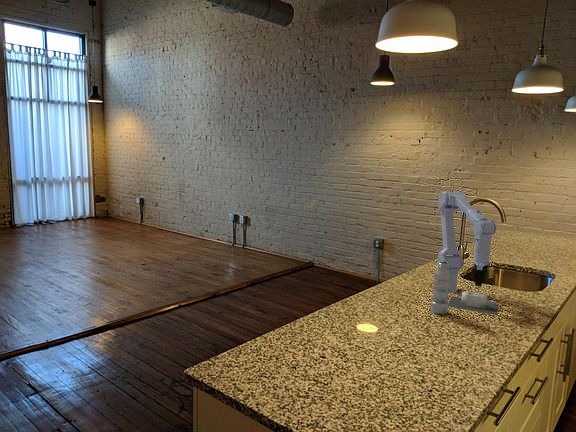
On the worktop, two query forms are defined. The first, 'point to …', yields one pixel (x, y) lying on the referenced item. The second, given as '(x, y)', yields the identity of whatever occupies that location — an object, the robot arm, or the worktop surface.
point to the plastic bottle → (441, 289)
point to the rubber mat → (489, 308)
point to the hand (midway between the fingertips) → (478, 283)
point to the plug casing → (475, 300)
